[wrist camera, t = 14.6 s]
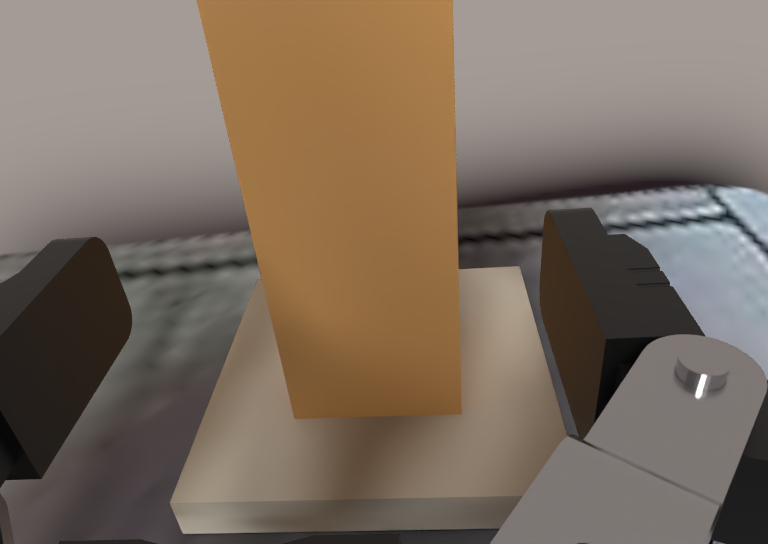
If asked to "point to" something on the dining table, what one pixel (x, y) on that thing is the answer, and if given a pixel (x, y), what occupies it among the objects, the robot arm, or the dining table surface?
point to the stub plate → (377, 435)
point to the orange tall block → (349, 193)
